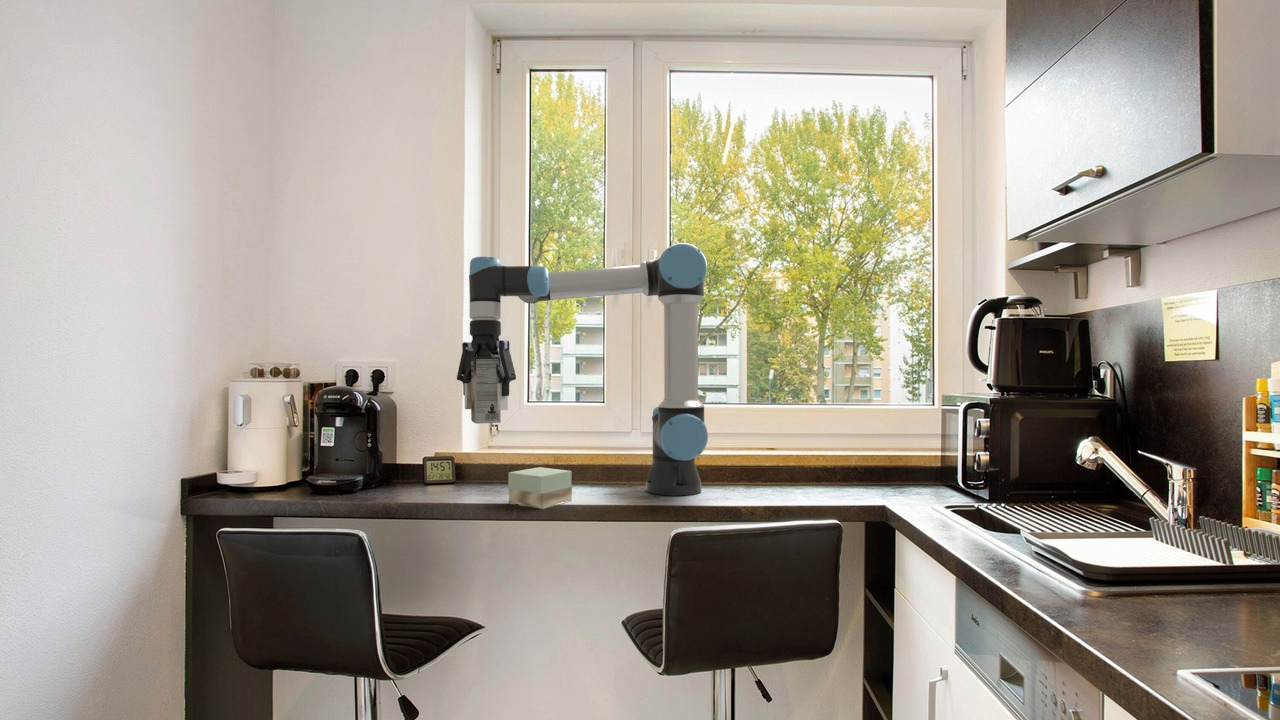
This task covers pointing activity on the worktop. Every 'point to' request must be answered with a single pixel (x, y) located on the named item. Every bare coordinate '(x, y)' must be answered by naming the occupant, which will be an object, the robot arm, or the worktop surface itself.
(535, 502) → the slab bottom
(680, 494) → the robot arm
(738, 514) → the worktop surface
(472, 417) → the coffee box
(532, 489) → the slab top
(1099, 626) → the worktop surface
